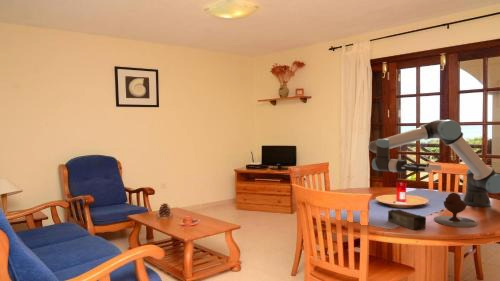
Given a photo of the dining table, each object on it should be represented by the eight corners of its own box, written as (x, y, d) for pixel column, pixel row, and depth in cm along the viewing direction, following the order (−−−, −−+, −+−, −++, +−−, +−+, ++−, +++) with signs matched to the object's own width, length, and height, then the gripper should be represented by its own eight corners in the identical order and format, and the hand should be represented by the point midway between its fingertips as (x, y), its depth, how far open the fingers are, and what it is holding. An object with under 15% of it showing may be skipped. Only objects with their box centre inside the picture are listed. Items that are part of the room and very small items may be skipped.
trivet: (470, 218, 202) (470, 217, 202) (482, 228, 183) (482, 227, 183) (430, 216, 207) (430, 214, 207) (437, 225, 188) (438, 224, 188)
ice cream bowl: (470, 223, 189) (470, 194, 188) (446, 222, 191) (447, 194, 190) (462, 218, 199) (462, 191, 199) (440, 217, 201) (440, 190, 201)
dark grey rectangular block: (399, 219, 201) (399, 208, 201) (426, 229, 183) (427, 216, 183) (387, 221, 198) (387, 209, 198) (414, 231, 180) (414, 218, 180)
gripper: (407, 170, 225) (444, 173, 209) (388, 174, 208) (427, 178, 192) (407, 158, 224) (444, 160, 209) (388, 161, 207) (427, 164, 192)
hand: (436, 169), depth 201 cm, fingers open, 13 cm apart
